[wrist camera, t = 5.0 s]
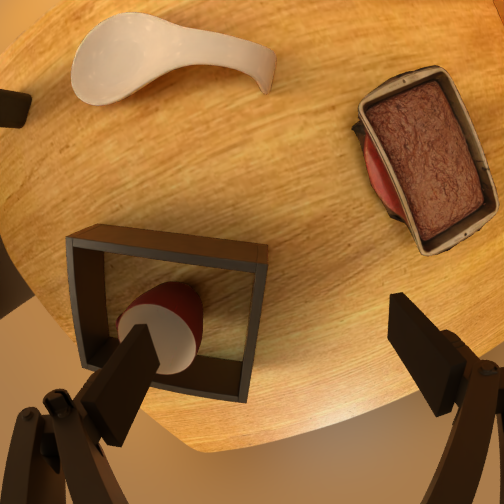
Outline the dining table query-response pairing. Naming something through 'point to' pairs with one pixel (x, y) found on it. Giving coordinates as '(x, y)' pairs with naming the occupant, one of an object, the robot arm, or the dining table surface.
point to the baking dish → (426, 158)
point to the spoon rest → (156, 56)
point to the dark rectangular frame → (168, 249)
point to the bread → (500, 8)
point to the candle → (13, 108)
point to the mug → (168, 324)
